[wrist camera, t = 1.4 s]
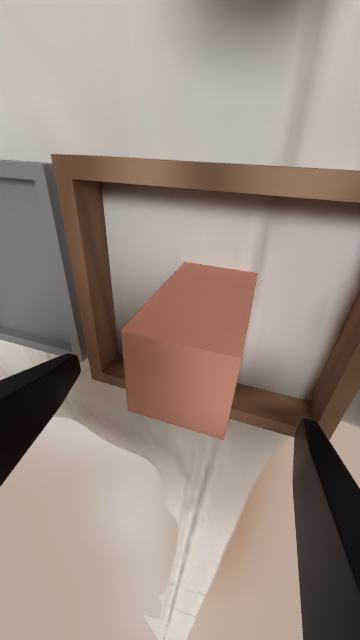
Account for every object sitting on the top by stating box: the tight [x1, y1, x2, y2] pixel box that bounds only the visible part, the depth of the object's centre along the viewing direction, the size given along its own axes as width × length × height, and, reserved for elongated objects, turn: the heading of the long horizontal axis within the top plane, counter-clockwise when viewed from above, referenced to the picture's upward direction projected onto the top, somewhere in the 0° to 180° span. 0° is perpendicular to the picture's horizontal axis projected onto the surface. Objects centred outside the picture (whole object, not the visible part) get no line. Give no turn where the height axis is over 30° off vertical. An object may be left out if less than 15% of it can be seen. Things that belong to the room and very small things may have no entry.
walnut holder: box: [51, 154, 360, 440], centre depth 16 cm, size 17×15×2 cm
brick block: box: [121, 262, 258, 440], centre depth 13 cm, size 4×4×8 cm
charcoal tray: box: [0, 160, 88, 362], centre depth 20 cm, size 10×14×2 cm
